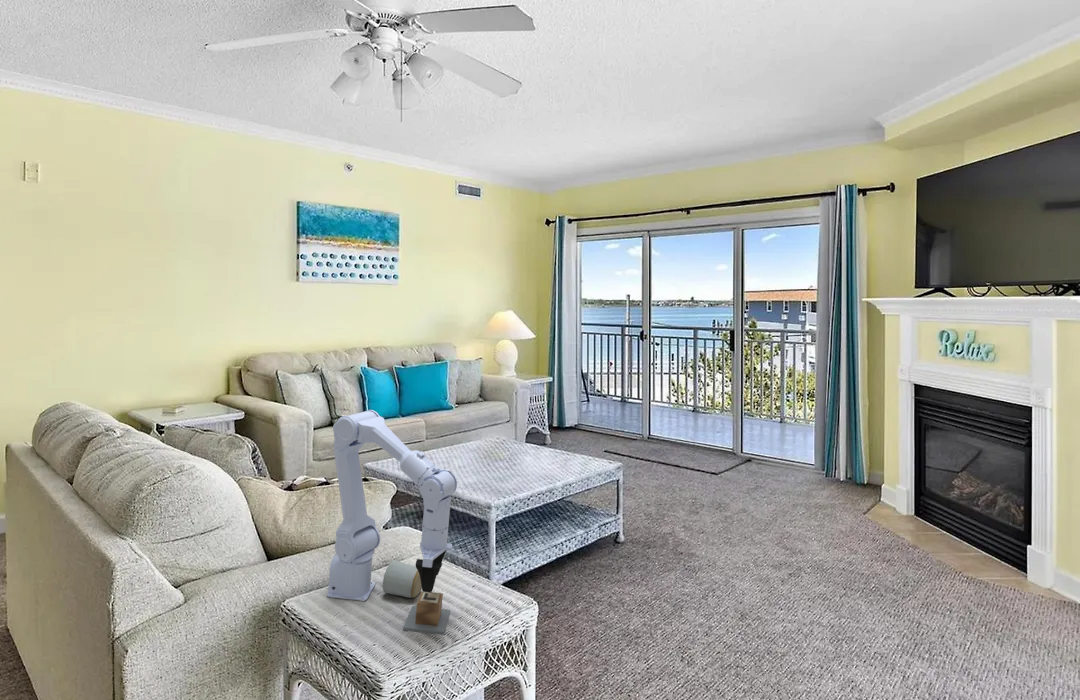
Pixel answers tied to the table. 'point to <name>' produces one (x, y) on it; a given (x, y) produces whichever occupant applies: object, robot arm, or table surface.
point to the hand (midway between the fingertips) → (430, 582)
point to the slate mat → (438, 629)
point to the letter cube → (429, 608)
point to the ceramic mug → (402, 580)
